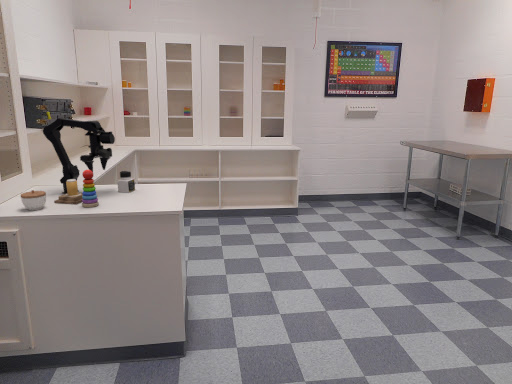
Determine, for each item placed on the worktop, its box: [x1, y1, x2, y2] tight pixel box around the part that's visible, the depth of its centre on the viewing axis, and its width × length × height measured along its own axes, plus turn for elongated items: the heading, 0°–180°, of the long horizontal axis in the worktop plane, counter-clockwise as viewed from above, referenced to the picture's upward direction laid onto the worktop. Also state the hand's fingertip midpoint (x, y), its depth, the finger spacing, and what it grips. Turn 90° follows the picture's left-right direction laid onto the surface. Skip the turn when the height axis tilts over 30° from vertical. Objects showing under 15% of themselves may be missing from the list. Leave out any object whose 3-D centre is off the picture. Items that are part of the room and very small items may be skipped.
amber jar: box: [66, 179, 79, 196], centre depth 199 cm, size 5×5×8 cm
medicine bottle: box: [116, 170, 136, 194], centre depth 220 cm, size 7×7×12 cm
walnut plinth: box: [53, 191, 83, 205], centre depth 201 cm, size 13×13×3 cm
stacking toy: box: [81, 169, 100, 208], centre depth 189 cm, size 8×8×19 cm
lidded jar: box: [20, 189, 47, 211], centre depth 185 cm, size 11×11×9 cm
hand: (98, 171), depth 213 cm, fingers open, 9 cm apart
